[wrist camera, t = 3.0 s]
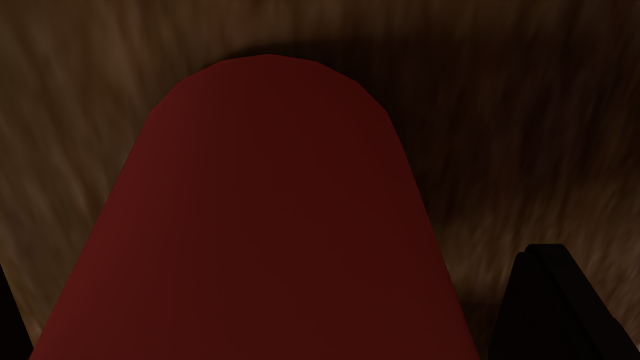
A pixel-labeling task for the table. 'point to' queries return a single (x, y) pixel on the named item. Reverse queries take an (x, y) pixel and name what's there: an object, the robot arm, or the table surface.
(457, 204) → the table surface
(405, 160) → the beer can
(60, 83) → the table surface
